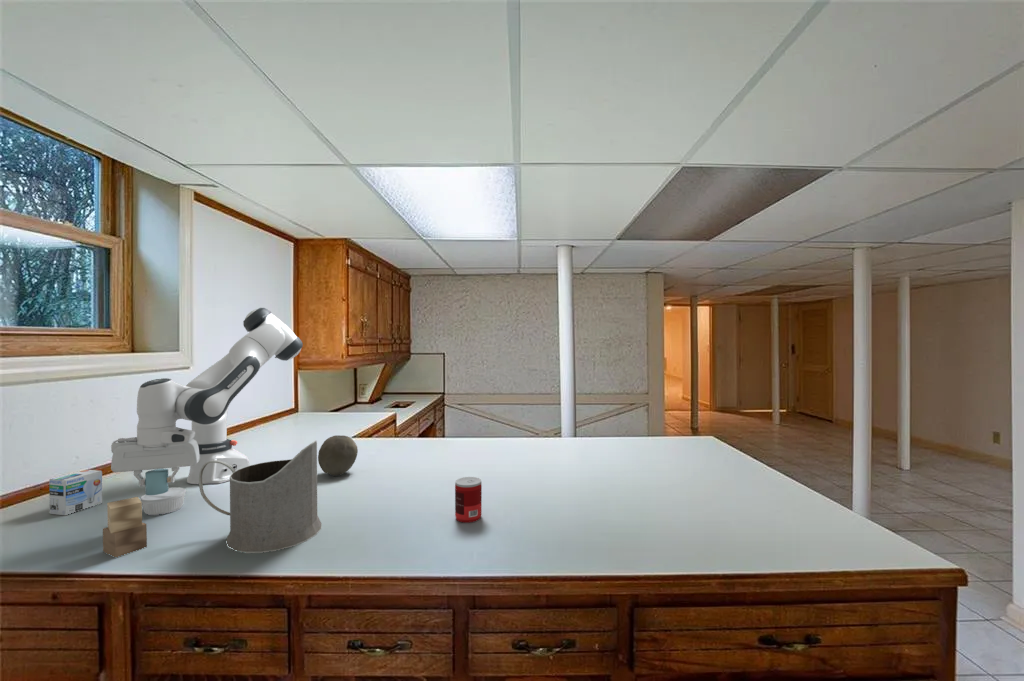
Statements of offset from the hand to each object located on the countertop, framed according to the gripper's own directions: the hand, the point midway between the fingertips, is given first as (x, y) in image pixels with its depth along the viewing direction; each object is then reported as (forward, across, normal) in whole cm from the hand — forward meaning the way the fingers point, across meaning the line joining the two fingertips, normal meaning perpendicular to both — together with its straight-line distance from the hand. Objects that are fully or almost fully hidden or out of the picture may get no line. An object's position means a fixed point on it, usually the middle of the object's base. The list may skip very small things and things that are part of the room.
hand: (157, 483), depth 132 cm
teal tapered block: (+2, 0, 0) cm, 2 cm away
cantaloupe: (+12, +49, +30) cm, 59 cm away
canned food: (+11, +84, -30) cm, 90 cm away
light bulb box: (+12, -27, +24) cm, 38 cm away
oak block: (+6, -2, -16) cm, 17 cm away
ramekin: (+12, -2, +12) cm, 17 cm away
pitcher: (+12, +28, -18) cm, 36 cm away
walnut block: (+12, -2, -16) cm, 20 cm away
